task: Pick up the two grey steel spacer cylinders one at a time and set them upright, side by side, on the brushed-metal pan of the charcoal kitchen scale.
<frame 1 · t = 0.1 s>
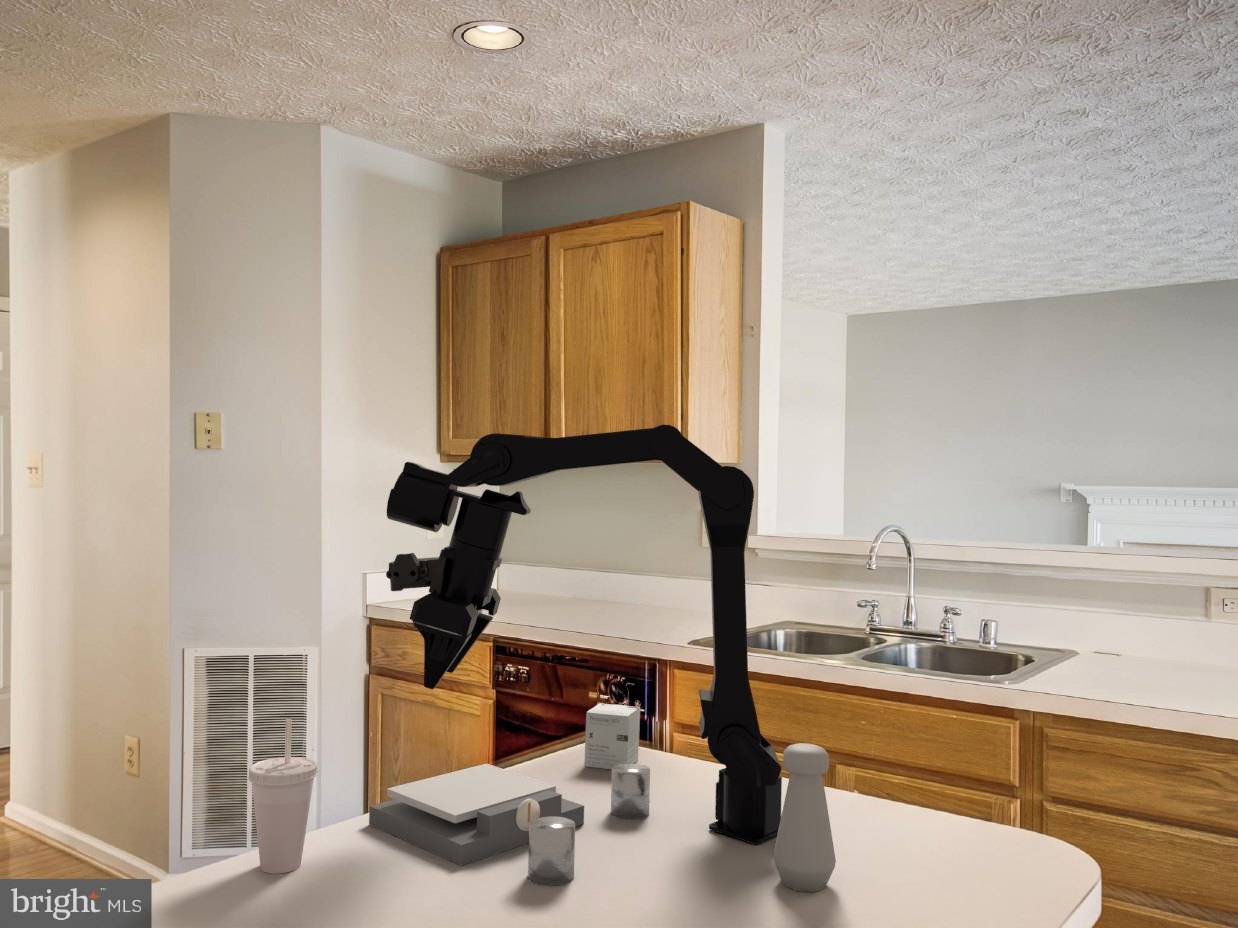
hand: (438, 679, 110), 15 cm above the countertop, tool pointing down, fingers open, 9 cm apart
salt shaker: (803, 885, 95), on the countertop
smoothie: (280, 867, 96), on the countertop
steel spacer 1: (551, 876, 95), on the countertop
steel spacer 2: (630, 812, 114), on the countertop
scale: (477, 824, 109), on the countertop
skincare box: (612, 764, 133), on the countertop
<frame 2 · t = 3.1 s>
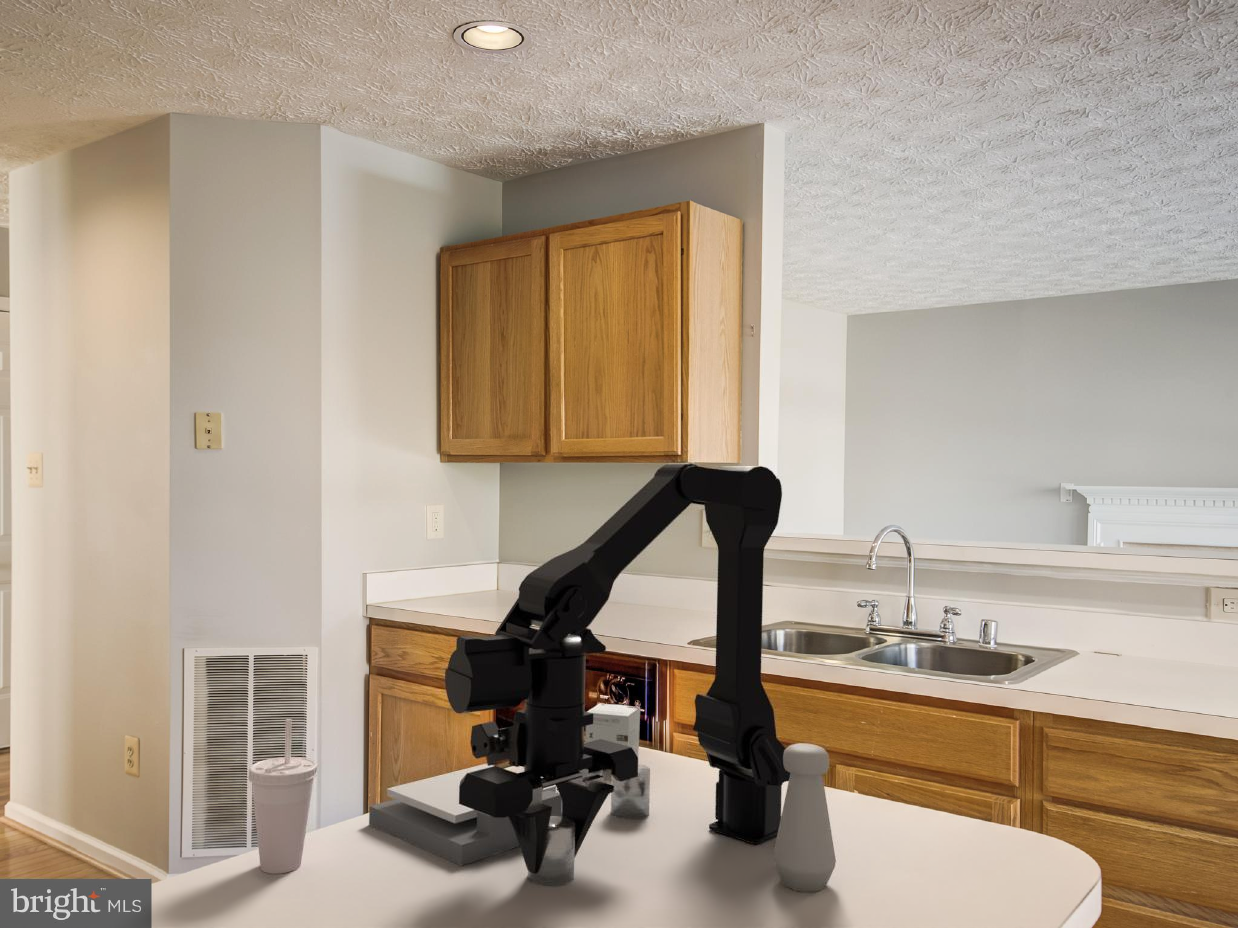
hand: (551, 865, 95), 1 cm above the countertop, tool pointing down, fingers closed on steel spacer 1, 4 cm apart
steel spacer 1: (551, 876, 95), on the countertop, touching gripper
everything else where it was.
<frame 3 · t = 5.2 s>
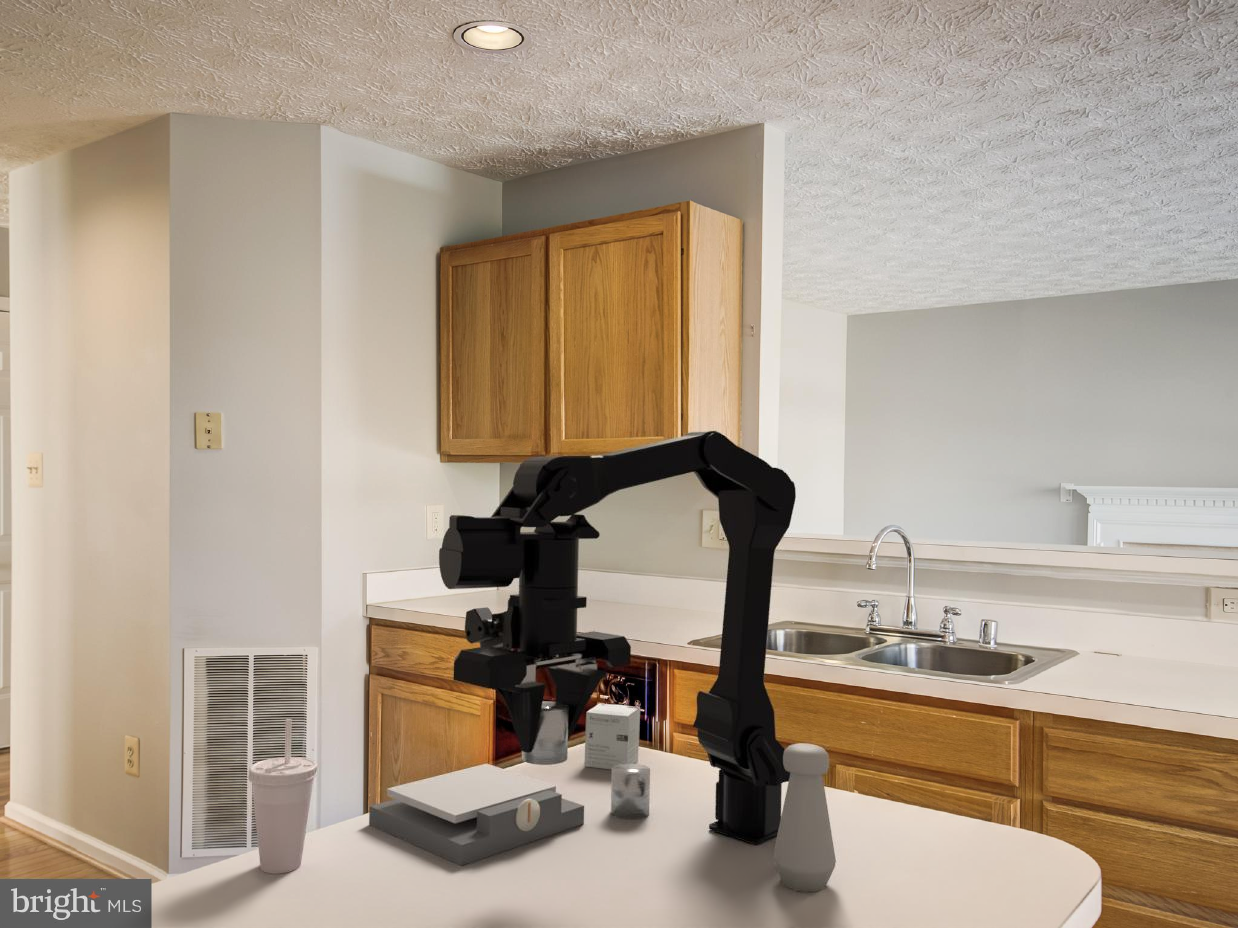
hand: (544, 747, 96), 12 cm above the countertop, tool pointing down, fingers closed on steel spacer 1, 4 cm apart
steel spacer 1: (544, 758, 96), point 11 cm above the countertop, touching gripper
everything else where it was.
when the fingers open (6 cm above the countertop, at t = 7.5 s): steel spacer 1 drops 2 cm, resting on scale.
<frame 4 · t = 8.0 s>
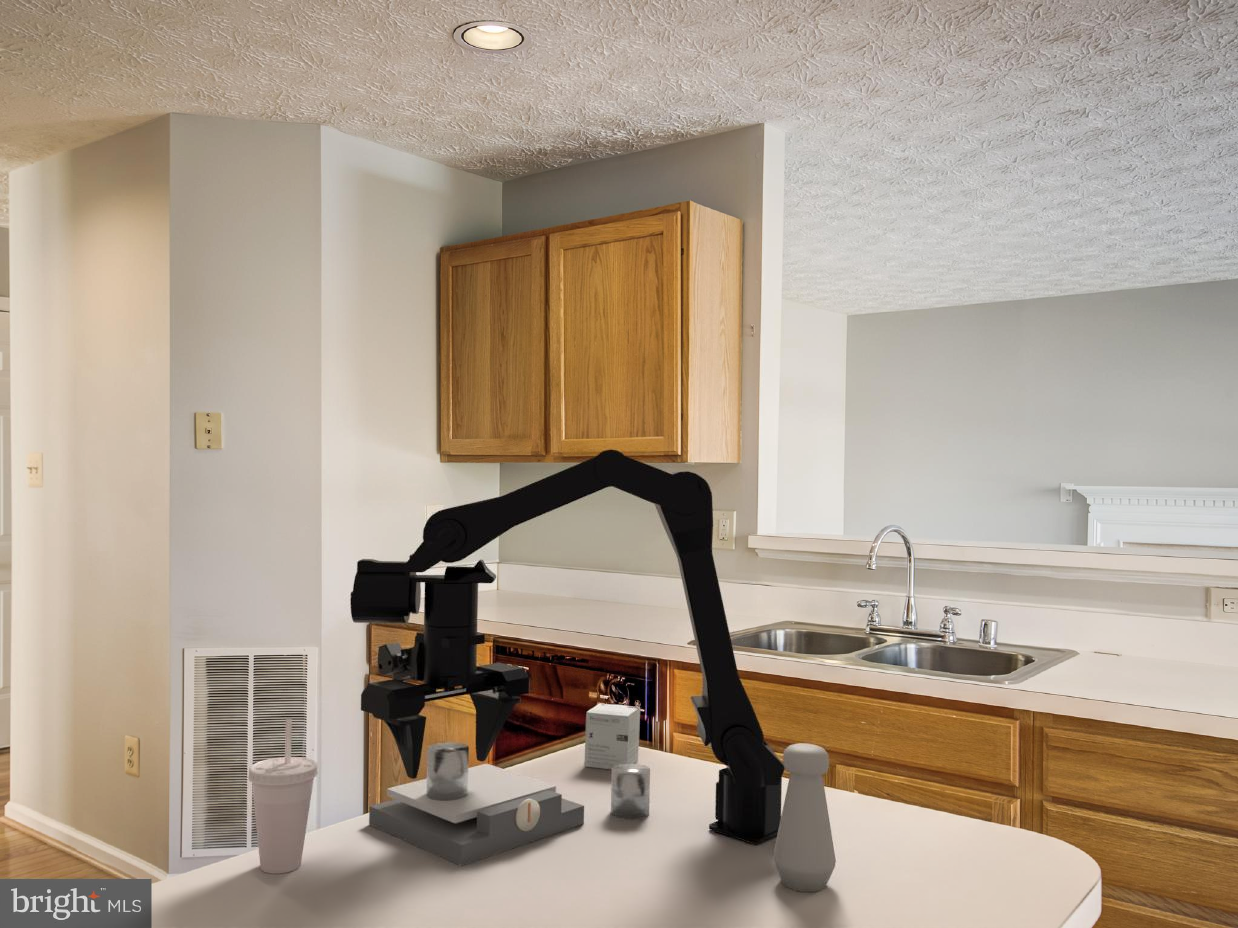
hand: (447, 768, 107), 6 cm above the countertop, tool pointing down, fingers open, 9 cm apart
steel spacer 1: (447, 793, 107), point 4 cm above the countertop, touching scale
everything else where it was.
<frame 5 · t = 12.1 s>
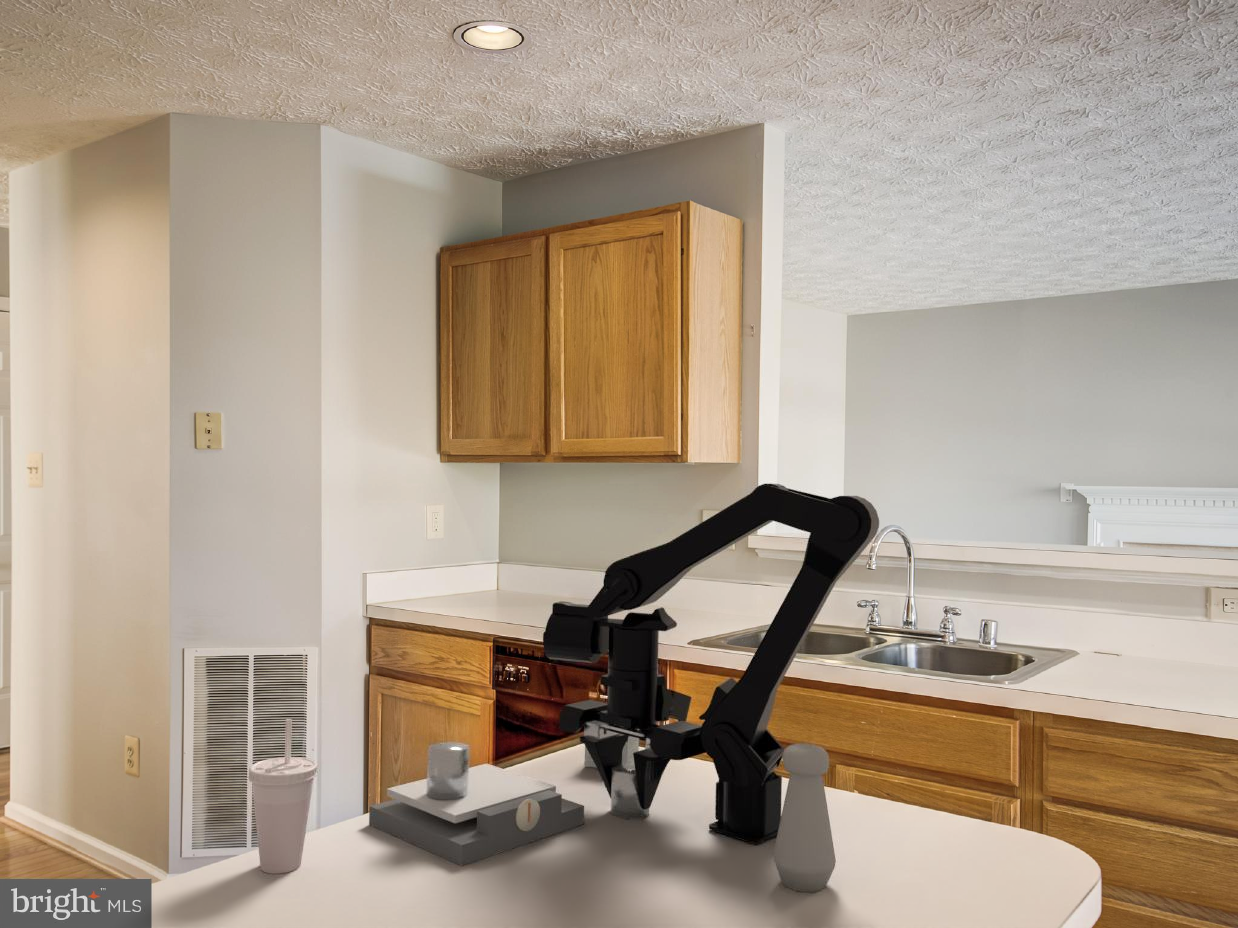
hand: (630, 803, 114), 1 cm above the countertop, tool pointing down, fingers closed on steel spacer 2, 4 cm apart
steel spacer 2: (630, 812, 114), on the countertop, touching gripper
everything else where it was.
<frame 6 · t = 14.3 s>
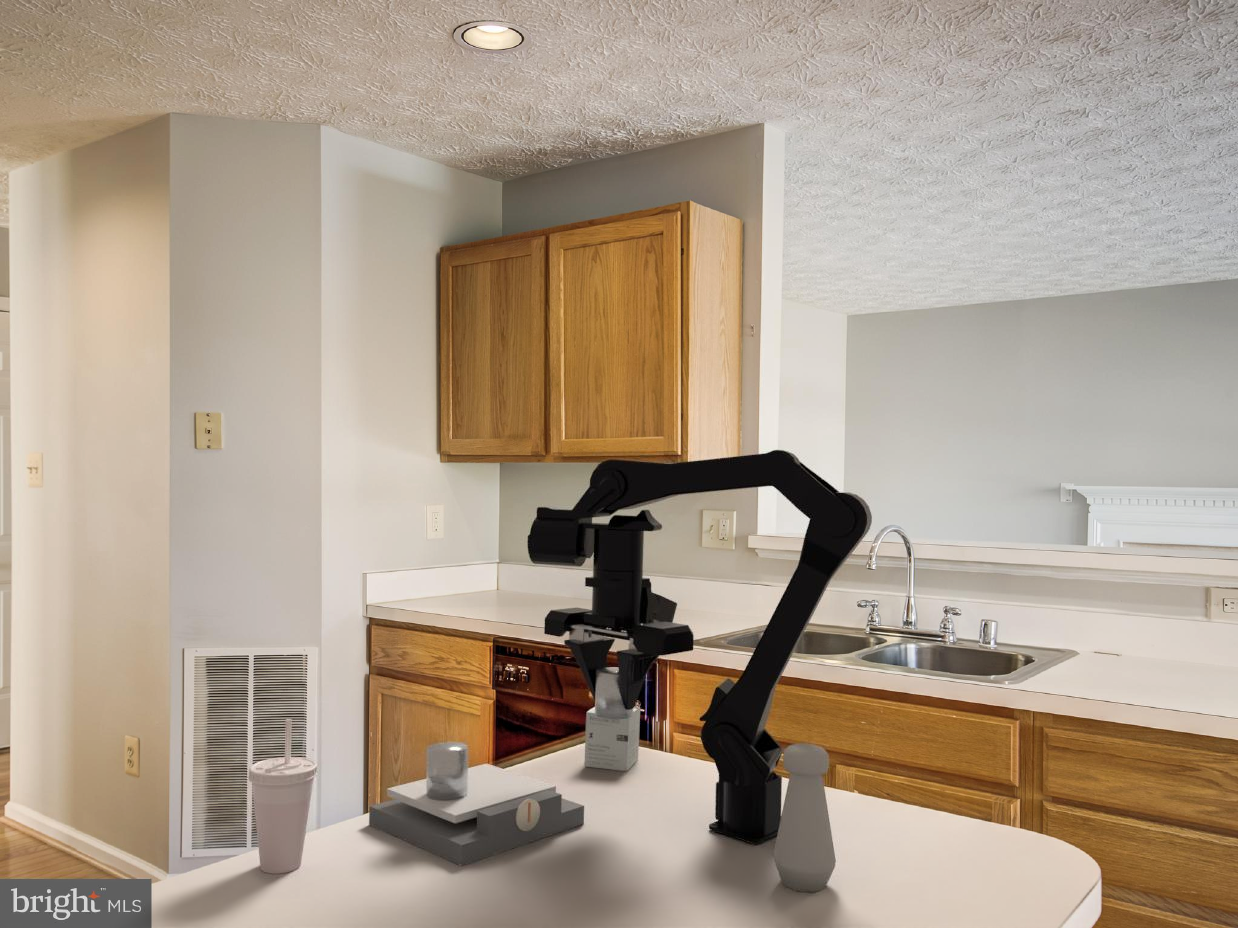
hand: (614, 705, 114), 12 cm above the countertop, tool pointing down, fingers closed on steel spacer 2, 4 cm apart
steel spacer 2: (614, 714, 114), point 11 cm above the countertop, touching gripper
everything else where it was.
when the fingers open (6 cm above the countertop, at t = 16.4 s): steel spacer 2 drops 2 cm, resting on scale.
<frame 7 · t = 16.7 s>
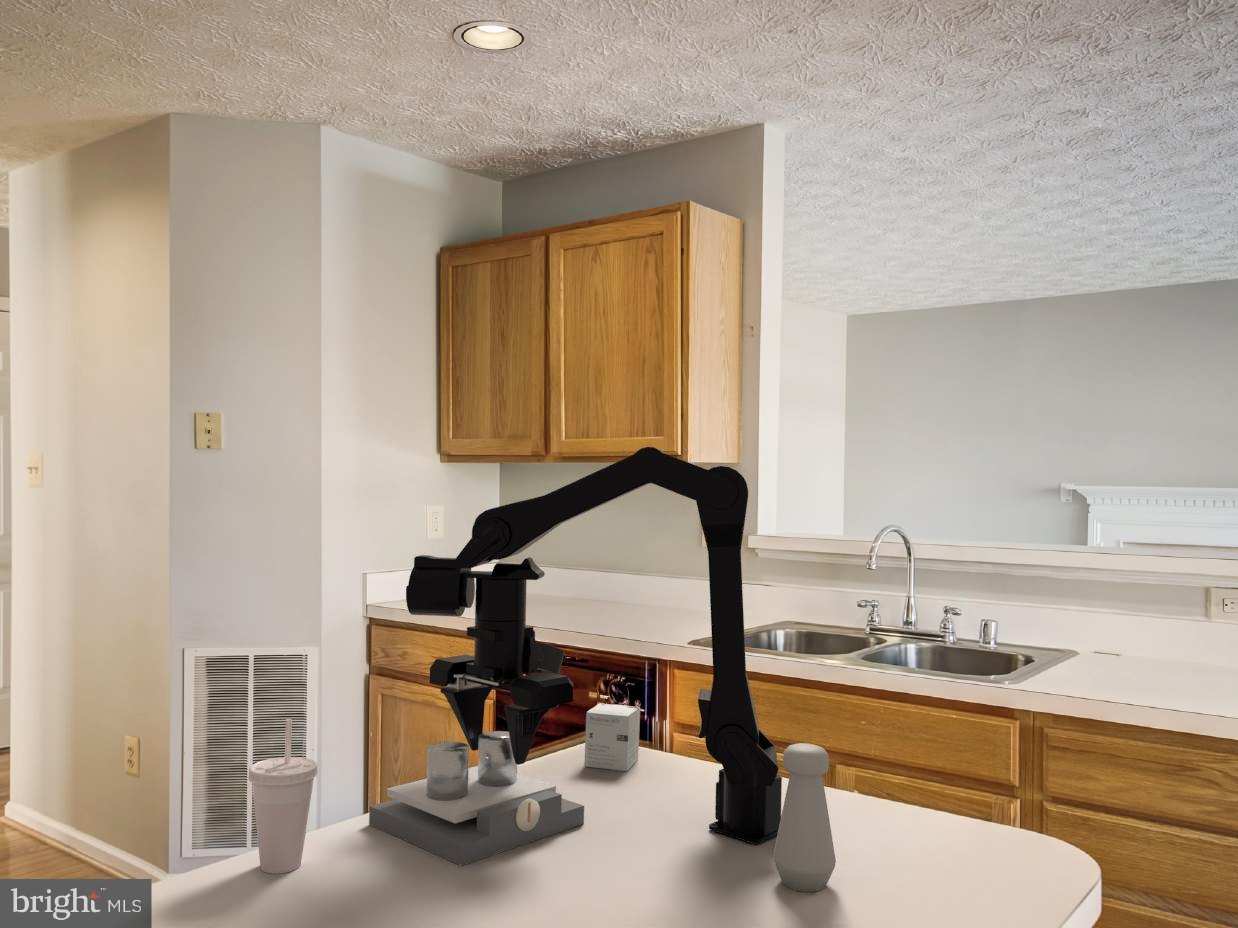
hand: (497, 756, 112), 6 cm above the countertop, tool pointing down, fingers open, 7 cm apart
steel spacer 2: (497, 780, 112), point 4 cm above the countertop, touching scale
everything else where it was.
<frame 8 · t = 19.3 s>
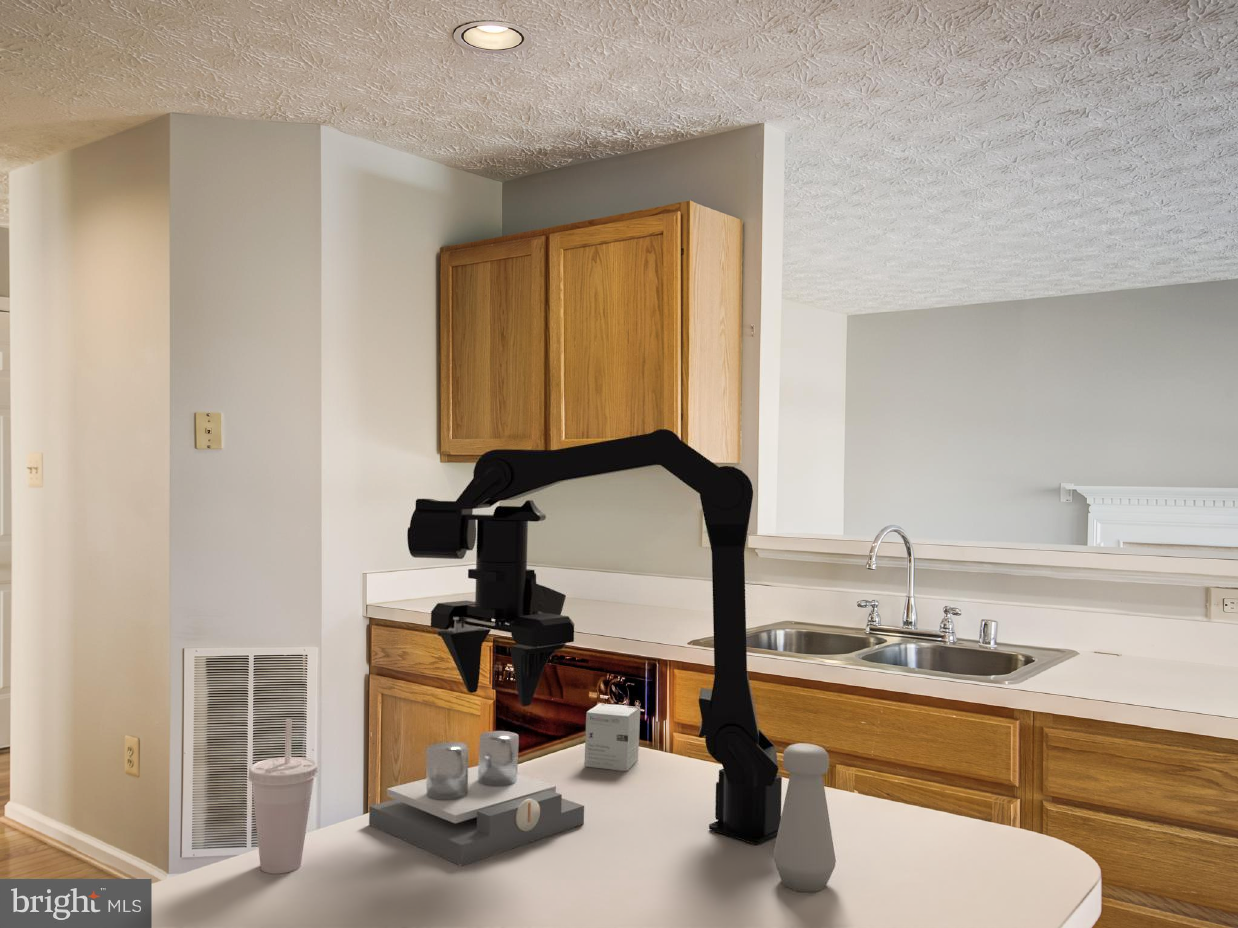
hand: (498, 698, 112), 13 cm above the countertop, tool pointing down, fingers open, 9 cm apart
nothing on the countertop moved.
at the end: steel spacer 1 inside the target area on the scale (3.5 cm from its centre), point 3.9 cm above the scale's base; steel spacer 2 inside the target area on the scale (3.6 cm from its centre), point 3.8 cm above the scale's base; steel spacer 2 tilted 1° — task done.
